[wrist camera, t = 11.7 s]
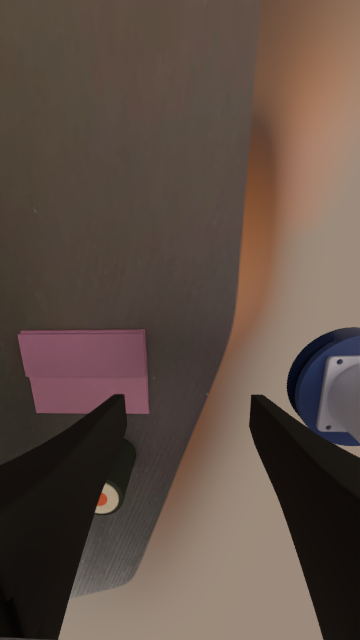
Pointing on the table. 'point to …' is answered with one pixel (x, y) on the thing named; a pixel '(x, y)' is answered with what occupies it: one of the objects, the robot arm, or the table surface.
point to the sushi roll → (117, 481)
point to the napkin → (85, 368)
